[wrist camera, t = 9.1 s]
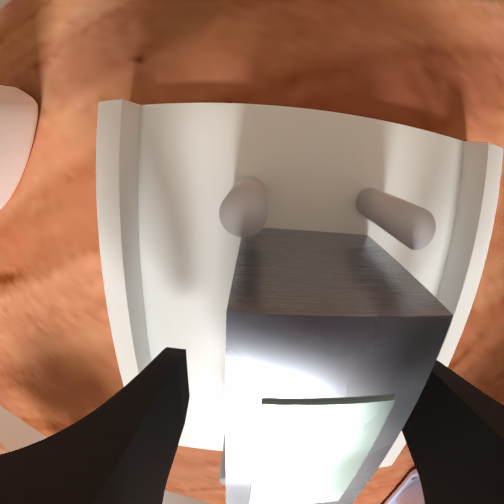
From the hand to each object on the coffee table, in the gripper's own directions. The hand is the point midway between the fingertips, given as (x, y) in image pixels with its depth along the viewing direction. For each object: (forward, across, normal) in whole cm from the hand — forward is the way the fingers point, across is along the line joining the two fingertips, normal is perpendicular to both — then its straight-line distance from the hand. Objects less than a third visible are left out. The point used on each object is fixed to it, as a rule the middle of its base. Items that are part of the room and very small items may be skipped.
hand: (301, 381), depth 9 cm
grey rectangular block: (+3, 0, 0) cm, 3 cm away
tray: (+3, 0, 0) cm, 3 cm away
